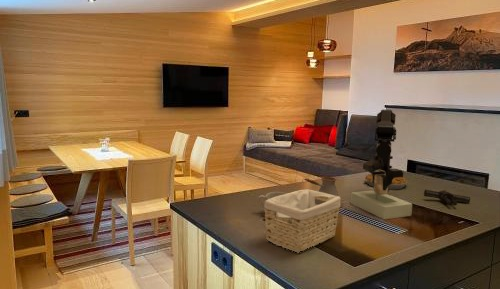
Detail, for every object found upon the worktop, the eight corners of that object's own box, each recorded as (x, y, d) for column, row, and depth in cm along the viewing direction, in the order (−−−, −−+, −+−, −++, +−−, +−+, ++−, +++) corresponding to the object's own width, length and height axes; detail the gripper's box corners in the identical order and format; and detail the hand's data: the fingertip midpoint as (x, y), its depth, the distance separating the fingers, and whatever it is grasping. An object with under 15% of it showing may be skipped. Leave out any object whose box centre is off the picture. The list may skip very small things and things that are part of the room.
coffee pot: (325, 201, 168) (327, 169, 166) (346, 208, 159) (348, 174, 157) (292, 210, 155) (293, 175, 153) (312, 218, 146) (314, 181, 144)
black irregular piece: (480, 202, 157) (467, 192, 171) (432, 194, 161) (423, 185, 175) (477, 213, 158) (465, 203, 172) (429, 205, 161) (421, 196, 176)
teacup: (293, 211, 153) (294, 193, 152) (287, 220, 143) (288, 200, 142) (262, 207, 158) (262, 189, 157) (254, 215, 148) (254, 196, 146)
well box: (350, 203, 166) (351, 192, 165) (375, 200, 171) (376, 190, 170) (384, 219, 146) (385, 207, 145) (411, 215, 151) (412, 203, 150)
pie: (410, 183, 204) (410, 175, 203) (403, 192, 185) (403, 183, 185) (370, 178, 215) (370, 170, 214) (359, 186, 197) (360, 177, 196)
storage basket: (303, 224, 139) (305, 186, 137) (341, 236, 128) (343, 196, 126) (260, 242, 122) (261, 199, 120) (299, 258, 111) (301, 211, 109)
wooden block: (373, 192, 159) (374, 174, 157) (381, 191, 160) (382, 173, 159) (380, 194, 155) (381, 176, 154) (387, 194, 156) (388, 175, 155)
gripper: (354, 150, 161) (352, 185, 163) (383, 158, 143) (380, 196, 146) (374, 149, 164) (372, 183, 167) (405, 157, 147) (402, 194, 150)
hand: (380, 189), depth 157 cm, fingers closed on wooden block, 4 cm apart
